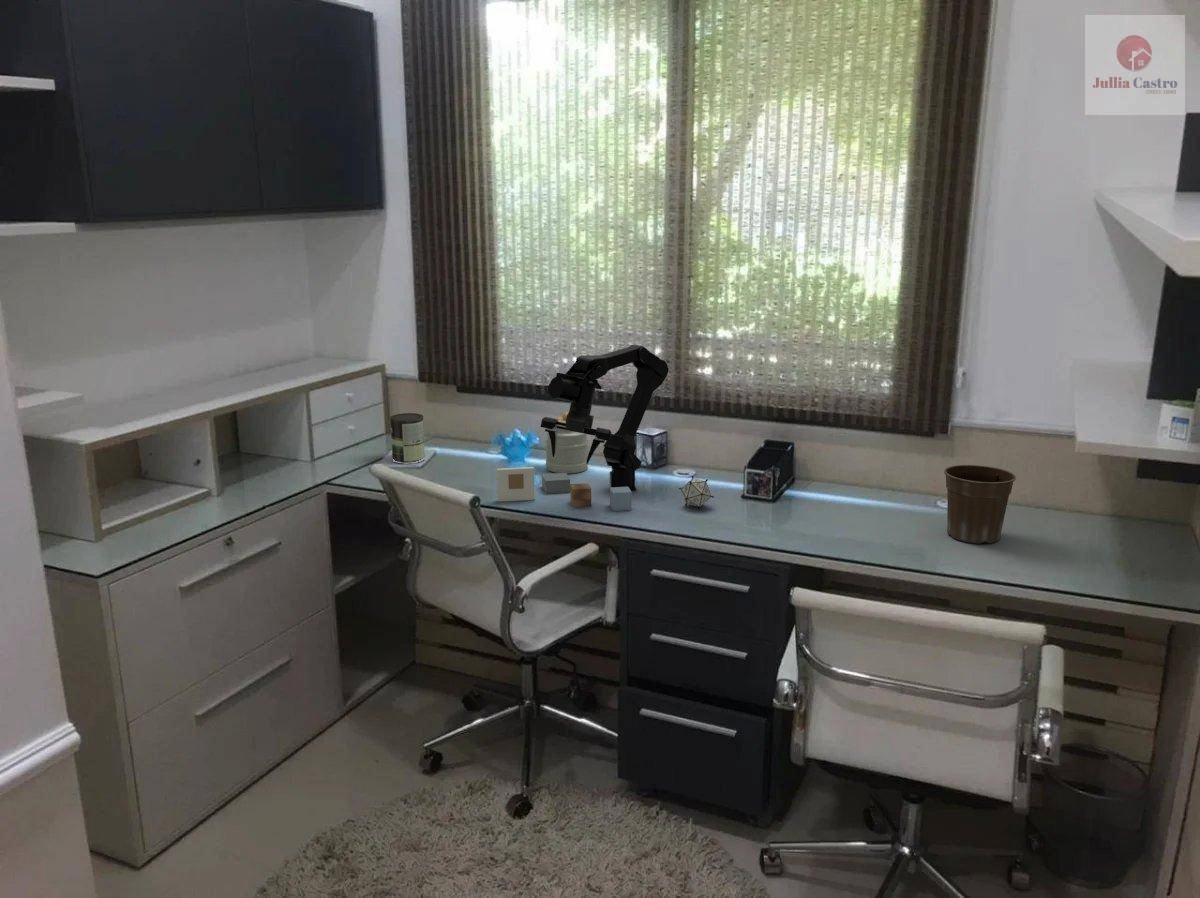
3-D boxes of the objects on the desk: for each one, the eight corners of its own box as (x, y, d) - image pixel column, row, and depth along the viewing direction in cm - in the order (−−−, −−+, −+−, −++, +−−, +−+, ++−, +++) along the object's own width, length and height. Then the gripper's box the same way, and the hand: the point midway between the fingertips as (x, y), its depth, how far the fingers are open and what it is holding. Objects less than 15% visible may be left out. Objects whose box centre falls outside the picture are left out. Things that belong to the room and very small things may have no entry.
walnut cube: (588, 500, 265) (588, 483, 264) (591, 506, 260) (591, 488, 259) (570, 501, 264) (570, 484, 263) (572, 507, 259) (572, 489, 258)
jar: (538, 471, 292) (537, 414, 288) (556, 461, 304) (556, 406, 299) (578, 476, 287) (577, 418, 283) (595, 465, 299) (594, 409, 294)
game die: (702, 519, 261) (726, 492, 257) (684, 515, 254) (708, 488, 251) (684, 496, 266) (707, 470, 262) (666, 492, 259) (689, 465, 256)
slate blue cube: (627, 504, 262) (627, 486, 260) (631, 510, 257) (631, 492, 256) (609, 505, 261) (609, 487, 260) (612, 511, 256) (613, 493, 255)
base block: (566, 486, 279) (566, 472, 278) (570, 493, 272) (570, 479, 271) (542, 487, 277) (541, 474, 276) (545, 494, 271) (545, 480, 270)
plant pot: (945, 521, 248) (951, 460, 243) (1013, 532, 240) (1020, 469, 236) (931, 540, 234) (937, 476, 230) (1003, 552, 226) (1010, 486, 222)
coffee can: (387, 464, 301) (385, 419, 297) (397, 455, 311) (395, 412, 307) (420, 464, 300) (418, 420, 296) (429, 456, 310) (427, 413, 306)
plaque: (534, 498, 266) (533, 467, 264) (534, 500, 265) (534, 468, 263) (497, 500, 265) (496, 468, 262) (498, 501, 263) (497, 470, 261)
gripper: (543, 396, 251) (532, 455, 252) (614, 410, 250) (602, 469, 251) (548, 396, 262) (537, 452, 263) (616, 409, 261) (604, 466, 262)
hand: (570, 460), depth 259 cm, fingers open, 9 cm apart
